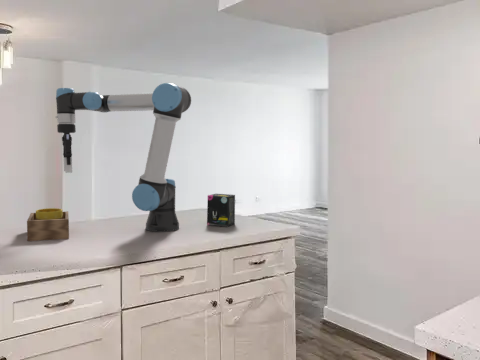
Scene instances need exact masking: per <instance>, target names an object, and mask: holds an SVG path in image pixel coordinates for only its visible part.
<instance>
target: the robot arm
mask: <svg viewBox="0 0 480 360" xmlns="http://www.w3.org/2000/svg"><path fill="white" fill-rule="evenodd" d="M55 100H56V102H55V104H56V116H55V119H57V121H56V123H57V126H56V127H57V133H59V134H63V135H62V136H61V141H62V147H63V148H62V149H63V151H62V152H63V153H62V155H63V172H65V173H66V174H67V173H68V174H69V173H70V174H71V173H73V157H72V156H73V153H72V152H73V151H72V145H73V143H72V141H73V138H72V135H71V134H74V133H76V111H91V112H93V111H94V112H99V113H109V112H133V111H134V112H136V111H137V112H141V111H142V112H143V111H144V112H145V111H153V112H152V114H153V117H155V119H154V120H155V121H154V124H153V130H152V135H151V140H150V143H149V144H150V145H149V148H148V149H149V150H148V154H147V157H146V163H145V167H144V168H145V169H144V172H143V174H141V175H140V176H139V179H138V183H137V185H136V186H135V187H134V189H133V190H132V192H131V194H132V195H131V199H132V202H133V204H134V206H135V207H136V208H137V209H138V210H141V211H144V212H149V213H148V216H147V219H146V222H145V230H146V231H150V232H171V231H173V232H174V231H177V230H179V229H180V223H179V220H178V216H177V213H176V181H175V180H174V179H172V178H166V176H165V175H166V171H167V167H168V163H169V157H170V153H171V149H172V148H171V147H172V144H173V138H174V134H175V130H176V125H177V122H178V121H180V120H181V118H182V114H183V113H186V111H188V110H189V108H190V107H191V104H192V97H191V94H190V92H189V91H188V89H186V88H184V87H182V86H179V85H177V84H175V83H171V82H170V83H169V82H165V83H161V84H159V85H157V86H156V87H155V89H154V90H153V92H152V93H151V92H150V93H136V94H135V93H130V94H128V93H127V94H125V93H124V94H103V95H101V94H99V92H96V91H95V92H94V91H86V92H75V89H74V88H71V87H59V88H57V89H56V97H55Z"/></svg>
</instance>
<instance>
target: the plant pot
mask: <svg viewBox="0 0 480 360" xmlns="http://www.w3.org/2000/svg"><path fill="white" fill-rule="evenodd" d="M63 212H64V211H63V209H62V208H57V207H56V208H55V207H50V208H47V207H46V208H40V209H36V210H35V213H36V219H38V220H51V219H61V218H62V215H63Z"/></svg>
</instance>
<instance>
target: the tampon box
mask: <svg viewBox="0 0 480 360" xmlns="http://www.w3.org/2000/svg"><path fill="white" fill-rule="evenodd" d="M206 209H207V211H206V213H207V215H206V218H207V219H206V225H207V226H211V227H212V226H215V227H222V226H224V227H223V228H228V227H230V226H234V225H235V223H236V221H235V220H236V194H230V193H229V194H227V193H226V194H225V193H224V194H223V193H213V194H208V195H207V208H206ZM227 226H228V227H227Z"/></svg>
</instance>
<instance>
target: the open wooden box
mask: <svg viewBox="0 0 480 360" xmlns="http://www.w3.org/2000/svg"><path fill="white" fill-rule="evenodd" d="M69 217H70V216H69V211H67V210H66V211H63V215H62V218H61V219H51V220H38V219H36V212H30V214H29V216H28V218H27V220H26V231H27V233H26V236H27V240H26V241H27V242H34V241H49V240H51V241H52V240H66V239H70V229H69V228H70V226H69V224H70V222H69V221H70V220H69Z"/></svg>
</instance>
